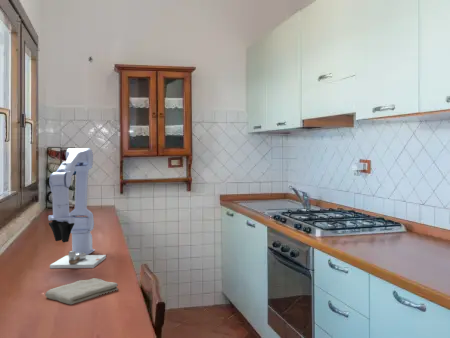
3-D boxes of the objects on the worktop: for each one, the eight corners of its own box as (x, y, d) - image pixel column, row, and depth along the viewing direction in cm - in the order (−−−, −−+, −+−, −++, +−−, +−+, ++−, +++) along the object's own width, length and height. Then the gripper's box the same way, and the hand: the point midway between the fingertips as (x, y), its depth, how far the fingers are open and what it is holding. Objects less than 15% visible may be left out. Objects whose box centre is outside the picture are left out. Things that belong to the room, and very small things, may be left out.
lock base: (66, 258, 184) (66, 255, 184) (106, 257, 183) (105, 254, 183) (49, 268, 168) (49, 264, 168) (93, 267, 167) (93, 264, 167)
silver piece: (74, 257, 178) (74, 246, 178) (87, 257, 178) (87, 246, 178) (64, 263, 167) (64, 252, 167) (78, 263, 167) (77, 252, 167)
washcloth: (120, 290, 140) (120, 280, 140) (70, 307, 125) (70, 296, 125) (95, 284, 147) (95, 275, 147) (44, 300, 132) (44, 289, 132)
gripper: (40, 204, 171) (41, 240, 171) (62, 206, 162) (63, 245, 162) (57, 202, 176) (58, 238, 177) (79, 204, 167) (80, 242, 168)
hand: (61, 241), depth 170 cm, fingers open, 4 cm apart
